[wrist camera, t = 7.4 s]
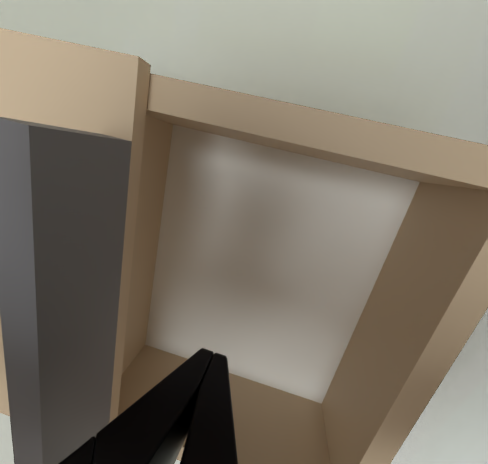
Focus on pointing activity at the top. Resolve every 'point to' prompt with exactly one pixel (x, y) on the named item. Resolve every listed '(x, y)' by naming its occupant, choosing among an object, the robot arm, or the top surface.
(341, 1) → the top surface
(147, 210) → the mailer box
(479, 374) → the top surface
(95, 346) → the lid
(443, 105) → the top surface
